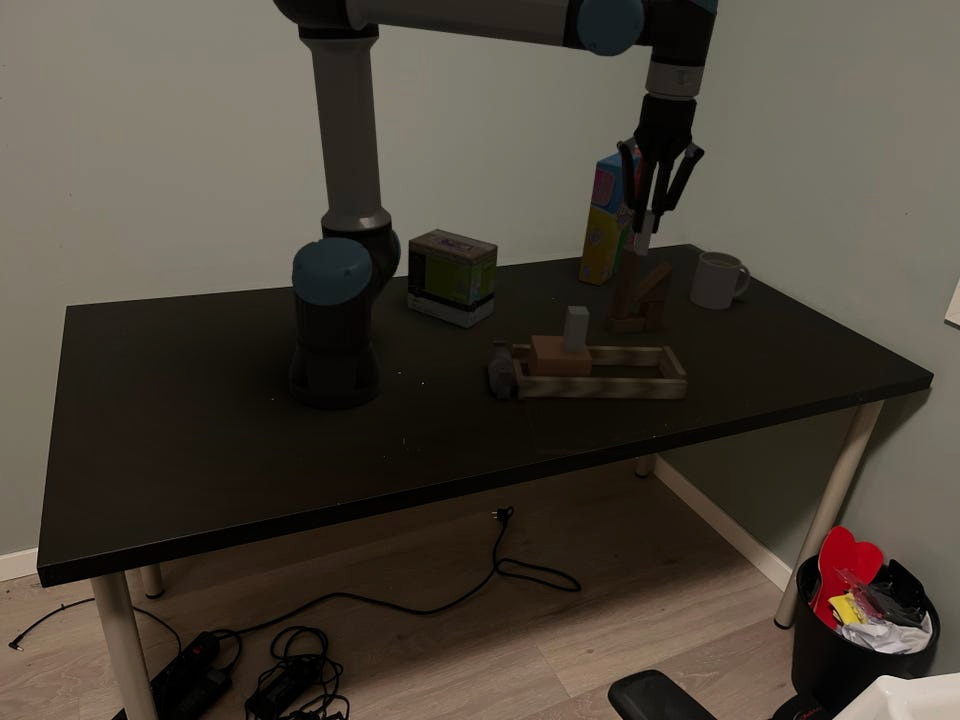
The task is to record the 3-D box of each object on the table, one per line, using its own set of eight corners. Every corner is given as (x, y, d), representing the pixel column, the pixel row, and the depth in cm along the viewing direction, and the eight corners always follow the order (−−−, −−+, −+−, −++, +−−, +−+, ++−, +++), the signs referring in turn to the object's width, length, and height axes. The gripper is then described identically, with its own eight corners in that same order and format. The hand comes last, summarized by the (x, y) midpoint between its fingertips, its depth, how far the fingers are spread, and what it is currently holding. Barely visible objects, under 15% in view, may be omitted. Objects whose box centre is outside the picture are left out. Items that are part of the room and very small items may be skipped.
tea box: (494, 313, 145) (500, 244, 138) (467, 330, 138) (471, 259, 130) (434, 292, 152) (437, 226, 144) (405, 308, 144) (406, 239, 137)
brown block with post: (534, 390, 118) (543, 321, 112) (527, 364, 126) (535, 297, 119) (587, 391, 119) (599, 322, 113) (577, 365, 127) (587, 299, 120)
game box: (599, 287, 160) (619, 166, 146) (577, 281, 162) (595, 161, 149) (631, 260, 176) (652, 149, 162) (610, 254, 178) (629, 144, 165)
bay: (490, 400, 117) (492, 374, 114) (484, 363, 127) (486, 338, 125) (682, 403, 120) (689, 378, 117) (661, 366, 130) (667, 343, 128)
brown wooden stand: (659, 333, 142) (678, 248, 133) (610, 337, 139) (626, 251, 130) (650, 325, 145) (668, 241, 136) (602, 328, 142) (617, 243, 133)
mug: (684, 302, 156) (694, 259, 151) (697, 288, 163) (707, 247, 158) (733, 316, 151) (745, 273, 146) (744, 301, 159) (756, 259, 154)
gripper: (632, 97, 96) (605, 259, 108) (725, 103, 98) (687, 263, 110) (619, 87, 103) (594, 241, 115) (706, 93, 104) (672, 245, 116)
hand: (640, 252), depth 112 cm, fingers closed
